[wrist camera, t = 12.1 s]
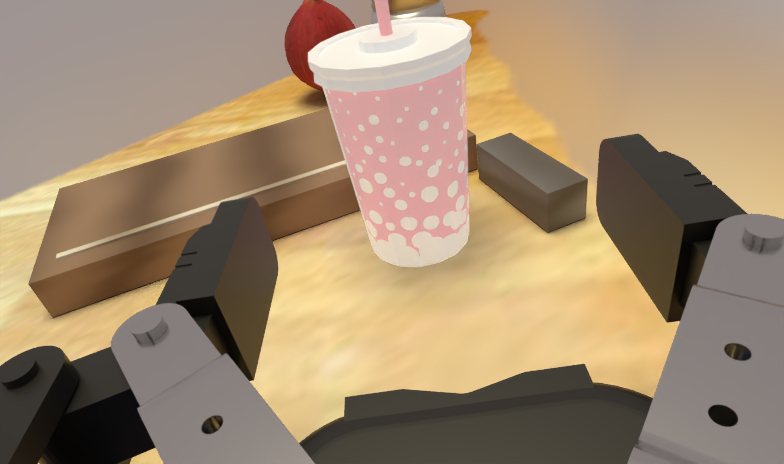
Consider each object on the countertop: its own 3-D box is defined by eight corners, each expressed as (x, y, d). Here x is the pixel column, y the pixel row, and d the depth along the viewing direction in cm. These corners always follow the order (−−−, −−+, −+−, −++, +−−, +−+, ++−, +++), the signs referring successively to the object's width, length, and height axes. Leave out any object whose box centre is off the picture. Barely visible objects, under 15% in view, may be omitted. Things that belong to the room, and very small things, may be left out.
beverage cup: (511, 249, 23) (493, -148, 15) (377, 296, 21) (280, -105, 14) (453, 188, 28) (416, -133, 20) (341, 224, 26) (255, -101, 19)
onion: (289, 112, 41) (257, 3, 36) (311, 85, 45) (285, -15, 41) (360, 105, 40) (337, -8, 35) (376, 78, 44) (357, -26, 40)
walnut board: (23, 439, 18) (-13, 401, 17) (76, 217, 32) (58, 187, 31) (585, 217, 24) (587, 176, 22) (426, 107, 37) (422, 78, 36)
